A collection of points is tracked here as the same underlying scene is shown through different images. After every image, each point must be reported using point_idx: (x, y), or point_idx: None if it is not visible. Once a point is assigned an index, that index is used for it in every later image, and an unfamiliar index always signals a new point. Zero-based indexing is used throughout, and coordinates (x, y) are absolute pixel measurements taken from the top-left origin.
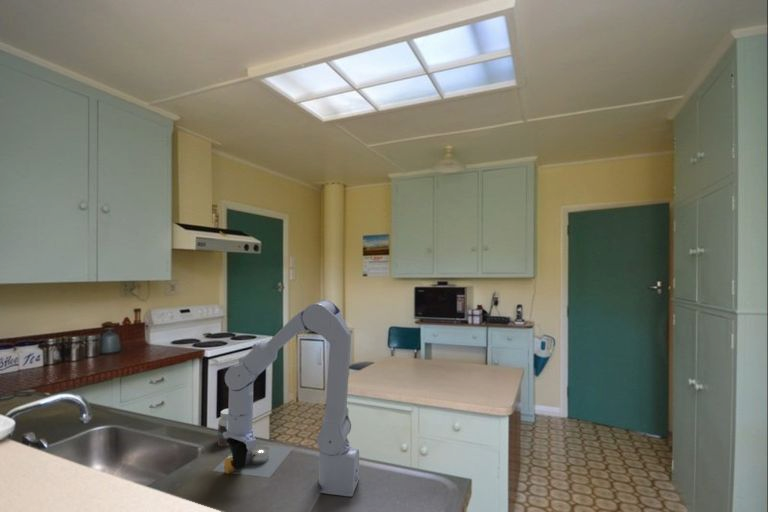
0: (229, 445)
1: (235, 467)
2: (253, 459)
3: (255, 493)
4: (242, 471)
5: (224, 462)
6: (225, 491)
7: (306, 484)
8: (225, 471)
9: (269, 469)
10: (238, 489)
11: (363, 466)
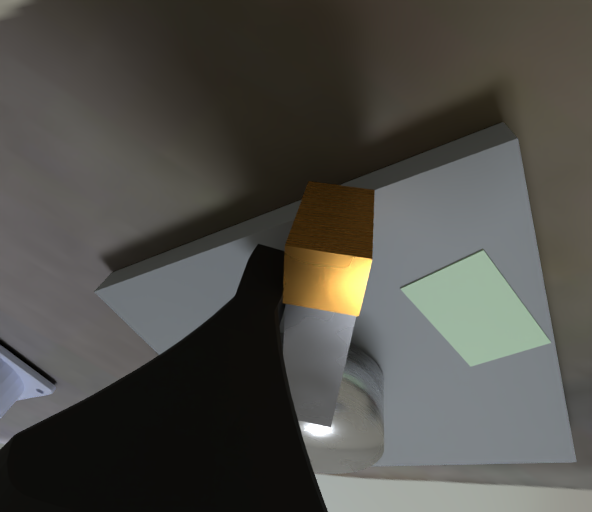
0: (238, 461)
1: (257, 250)
2: None
3: (41, 167)
4: None
5: (369, 238)
6: (176, 44)
7: (19, 327)
8: (347, 190)
9: (174, 339)
10: (143, 130)
11: None
